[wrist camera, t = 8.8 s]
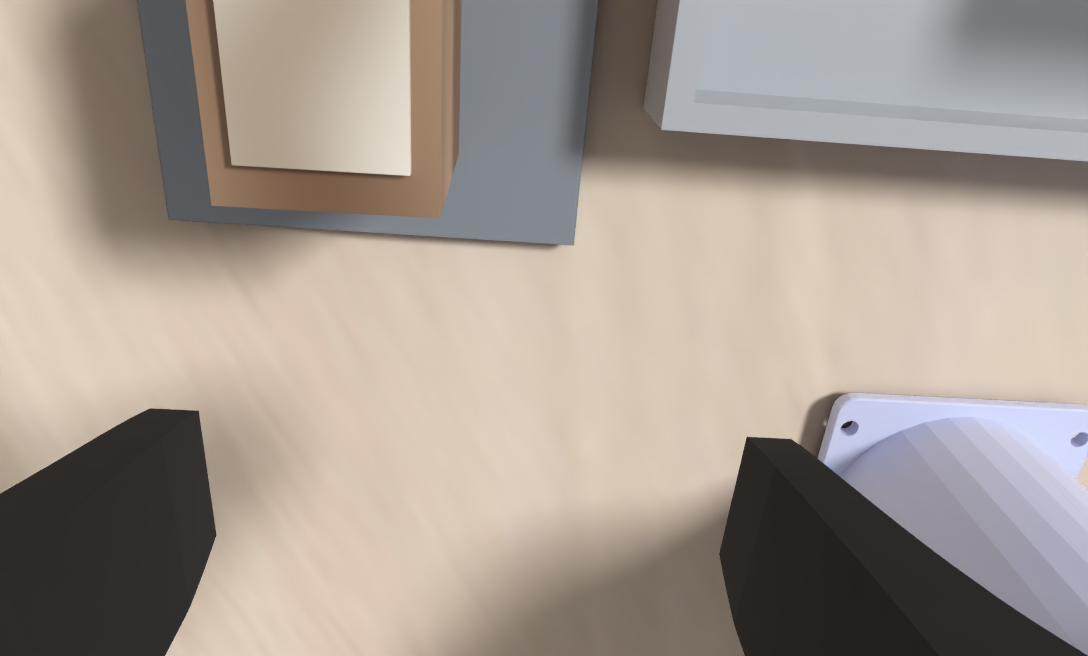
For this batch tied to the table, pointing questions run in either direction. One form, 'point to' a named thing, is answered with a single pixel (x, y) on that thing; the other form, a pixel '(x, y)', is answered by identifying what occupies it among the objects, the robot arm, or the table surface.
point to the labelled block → (329, 103)
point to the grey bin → (877, 73)
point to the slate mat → (484, 126)
